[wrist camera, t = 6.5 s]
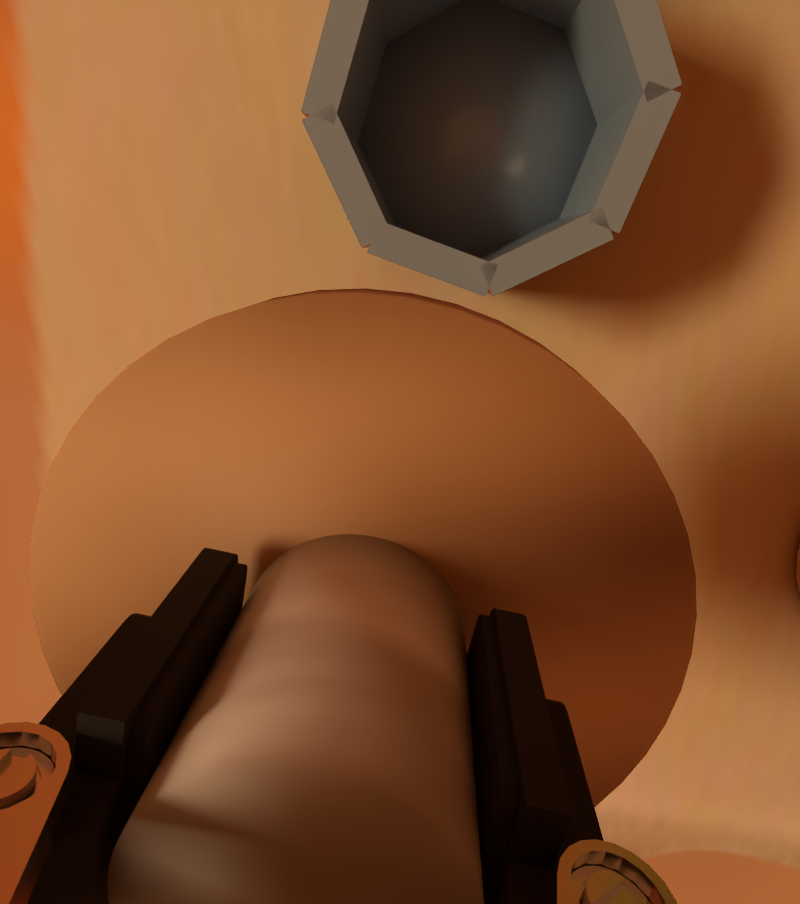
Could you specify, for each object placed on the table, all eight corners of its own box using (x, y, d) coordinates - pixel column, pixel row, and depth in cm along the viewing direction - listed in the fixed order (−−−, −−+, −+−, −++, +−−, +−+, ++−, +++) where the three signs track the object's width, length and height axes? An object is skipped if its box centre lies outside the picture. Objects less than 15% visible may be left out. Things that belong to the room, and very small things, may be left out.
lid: (759, 714, 13) (1033, 1115, 7) (269, 888, 15) (161, 1295, 9) (506, 148, 10) (609, 1, 4) (-56, 476, 12) (-522, 694, 6)
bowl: (647, 204, 24) (714, 191, 18) (411, 317, 26) (404, 338, 20) (551, -82, 21) (595, -201, 15) (295, 67, 23) (250, 9, 17)
